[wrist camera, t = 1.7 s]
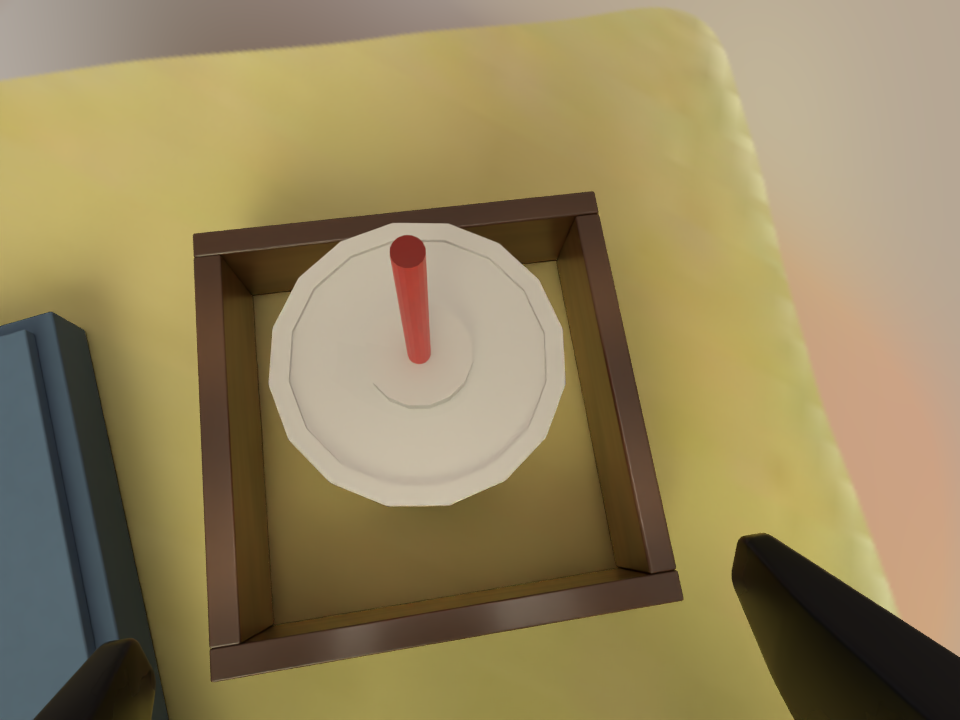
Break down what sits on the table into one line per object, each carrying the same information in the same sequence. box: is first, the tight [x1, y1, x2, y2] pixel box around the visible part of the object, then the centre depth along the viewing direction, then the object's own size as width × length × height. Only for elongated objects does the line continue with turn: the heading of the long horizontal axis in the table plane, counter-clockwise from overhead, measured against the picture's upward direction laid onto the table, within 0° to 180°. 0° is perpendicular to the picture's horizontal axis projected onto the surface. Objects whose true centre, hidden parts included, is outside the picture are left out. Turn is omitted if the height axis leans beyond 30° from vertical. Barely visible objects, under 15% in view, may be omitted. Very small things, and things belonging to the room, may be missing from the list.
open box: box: [193, 191, 683, 682], centre depth 20 cm, size 13×13×4 cm
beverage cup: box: [269, 223, 566, 507], centre depth 15 cm, size 6×6×14 cm
